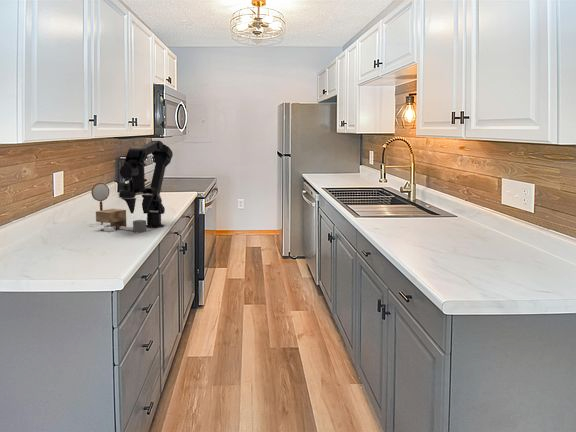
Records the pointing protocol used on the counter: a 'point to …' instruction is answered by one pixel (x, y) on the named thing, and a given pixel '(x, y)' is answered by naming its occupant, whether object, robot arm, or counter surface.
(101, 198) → the magnifying glass
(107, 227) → the steel puck
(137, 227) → the spatula tool
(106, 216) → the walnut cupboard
